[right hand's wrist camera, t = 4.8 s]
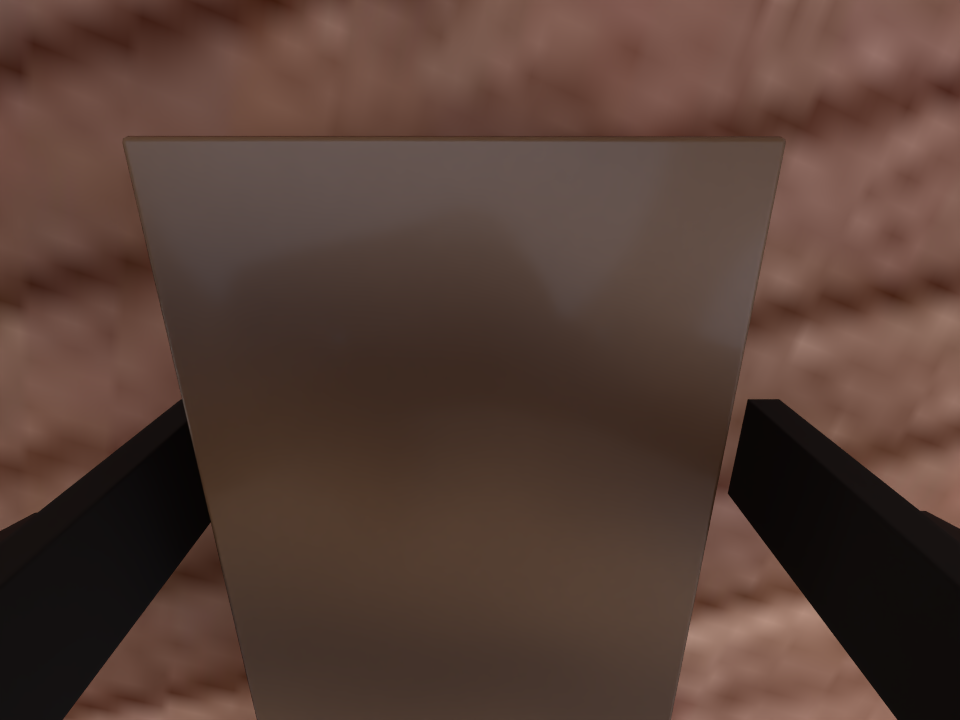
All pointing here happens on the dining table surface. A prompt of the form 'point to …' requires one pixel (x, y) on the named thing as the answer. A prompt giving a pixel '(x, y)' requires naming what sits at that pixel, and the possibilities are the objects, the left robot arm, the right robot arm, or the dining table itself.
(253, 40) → the dining table surface
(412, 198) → the thick board
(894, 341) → the dining table surface
